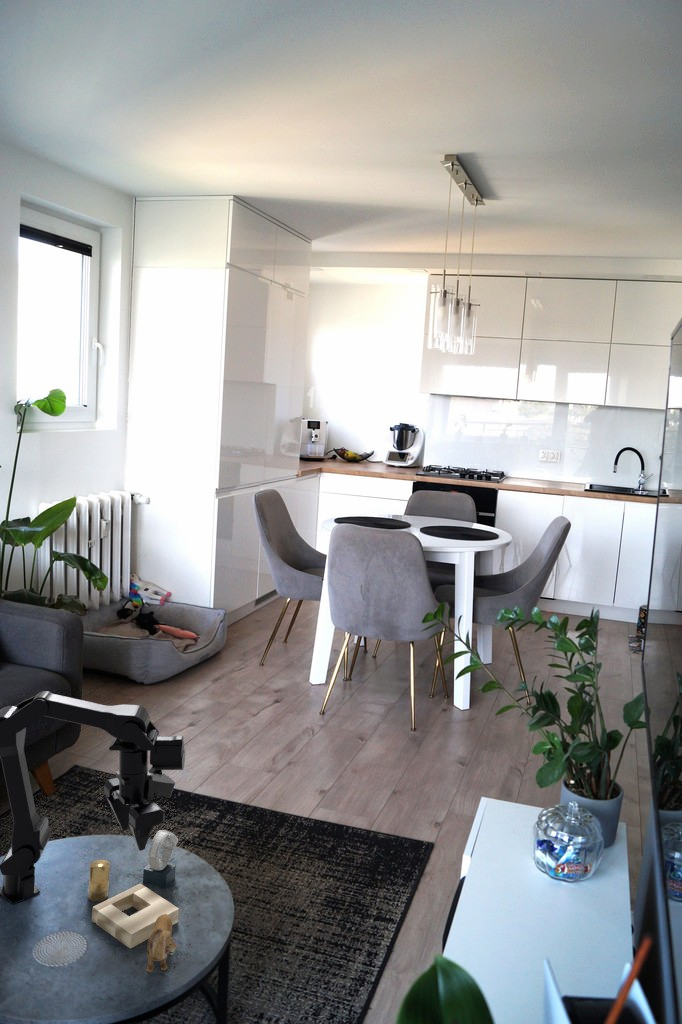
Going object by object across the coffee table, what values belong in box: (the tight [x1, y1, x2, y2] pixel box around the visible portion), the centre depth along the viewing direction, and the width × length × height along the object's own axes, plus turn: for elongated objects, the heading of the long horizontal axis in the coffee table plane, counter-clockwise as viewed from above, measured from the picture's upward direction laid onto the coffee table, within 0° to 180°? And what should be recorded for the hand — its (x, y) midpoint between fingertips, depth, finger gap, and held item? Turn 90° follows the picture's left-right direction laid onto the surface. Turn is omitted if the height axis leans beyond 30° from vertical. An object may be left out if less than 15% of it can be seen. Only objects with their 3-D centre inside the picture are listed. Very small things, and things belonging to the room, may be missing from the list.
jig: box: [91, 883, 180, 949], centre depth 173 cm, size 12×12×3 cm
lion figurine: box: [145, 914, 179, 973], centre depth 163 cm, size 15×5×9 cm, turn 13°
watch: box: [142, 829, 179, 889], centre depth 188 cm, size 6×8×11 cm
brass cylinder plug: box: [87, 859, 111, 902], centre depth 180 cm, size 4×4×7 cm
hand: (133, 839), depth 179 cm, fingers open, 9 cm apart
